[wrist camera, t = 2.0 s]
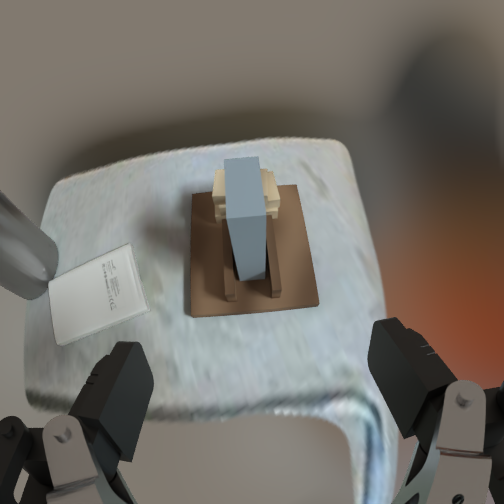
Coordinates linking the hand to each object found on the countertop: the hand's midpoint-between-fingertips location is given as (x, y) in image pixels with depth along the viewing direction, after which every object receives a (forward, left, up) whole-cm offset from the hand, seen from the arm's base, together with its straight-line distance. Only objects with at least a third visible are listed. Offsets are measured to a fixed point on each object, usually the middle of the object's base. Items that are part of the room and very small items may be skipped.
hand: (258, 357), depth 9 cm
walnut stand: (0, +12, -17) cm, 21 cm away
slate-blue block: (0, +11, -16) cm, 19 cm away
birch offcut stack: (0, +17, -16) cm, 23 cm away
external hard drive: (-18, +8, -17) cm, 26 cm away
